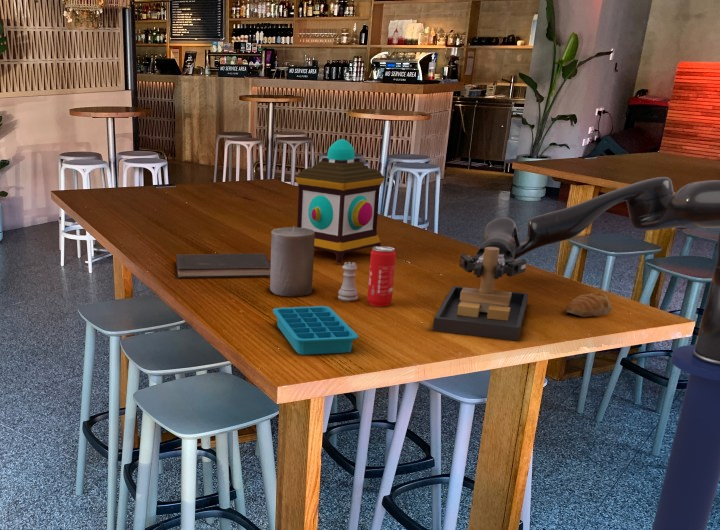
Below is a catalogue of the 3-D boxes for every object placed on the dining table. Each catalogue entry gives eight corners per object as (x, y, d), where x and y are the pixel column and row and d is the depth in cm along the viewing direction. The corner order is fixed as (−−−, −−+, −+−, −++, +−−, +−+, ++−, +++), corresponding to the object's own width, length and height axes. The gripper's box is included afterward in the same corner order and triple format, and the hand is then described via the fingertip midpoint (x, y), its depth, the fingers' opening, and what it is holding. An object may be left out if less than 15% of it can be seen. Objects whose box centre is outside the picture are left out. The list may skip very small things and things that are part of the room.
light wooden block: (458, 311, 163) (460, 301, 162) (479, 313, 162) (480, 304, 161) (456, 315, 160) (458, 305, 160) (477, 317, 159) (478, 307, 158)
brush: (461, 304, 166) (468, 244, 161) (509, 309, 163) (518, 248, 158) (458, 309, 163) (465, 248, 158) (507, 315, 159) (516, 252, 154)
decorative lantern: (283, 253, 215) (286, 138, 204) (330, 243, 227) (336, 134, 216) (340, 266, 201) (347, 144, 190) (387, 255, 213) (397, 139, 202)
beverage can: (380, 308, 167) (385, 252, 162) (361, 303, 171) (366, 248, 166) (396, 304, 170) (401, 249, 165) (377, 299, 174) (381, 244, 169)
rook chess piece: (362, 300, 173) (364, 264, 170) (346, 303, 171) (348, 266, 168) (349, 295, 177) (351, 260, 174) (333, 298, 174) (335, 262, 171)
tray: (451, 297, 175) (452, 285, 174) (526, 305, 169) (528, 293, 168) (432, 330, 153) (434, 317, 152) (518, 341, 147) (520, 327, 146)
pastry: (585, 320, 159) (588, 302, 157) (555, 312, 164) (558, 294, 163) (613, 313, 163) (616, 295, 162) (584, 305, 169) (587, 288, 167)
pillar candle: (319, 289, 181) (323, 224, 175) (299, 299, 174) (302, 231, 168) (282, 283, 186) (284, 219, 180) (261, 292, 179) (262, 226, 173)
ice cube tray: (295, 356, 140) (296, 340, 138) (270, 322, 158) (271, 308, 157) (359, 353, 141) (360, 337, 140) (327, 320, 160) (328, 305, 158)
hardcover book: (272, 276, 192) (272, 267, 191) (177, 278, 191) (177, 268, 190) (264, 261, 207) (264, 252, 206) (176, 262, 206) (176, 254, 205)
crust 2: (488, 314, 161) (489, 305, 160) (509, 316, 159) (510, 307, 159) (486, 318, 158) (488, 308, 158) (508, 320, 157) (509, 311, 156)
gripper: (527, 275, 170) (522, 295, 156) (460, 269, 176) (449, 287, 161) (533, 240, 167) (528, 257, 153) (464, 235, 173) (453, 251, 158)
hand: (487, 273), depth 157 cm, fingers closed on brush, 3 cm apart
